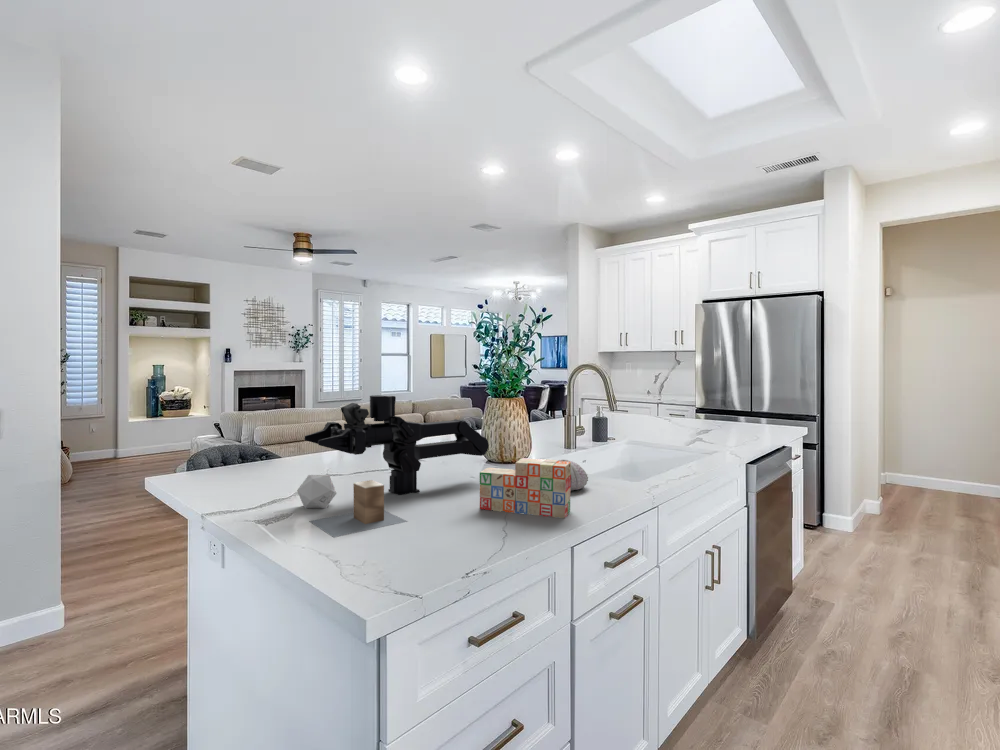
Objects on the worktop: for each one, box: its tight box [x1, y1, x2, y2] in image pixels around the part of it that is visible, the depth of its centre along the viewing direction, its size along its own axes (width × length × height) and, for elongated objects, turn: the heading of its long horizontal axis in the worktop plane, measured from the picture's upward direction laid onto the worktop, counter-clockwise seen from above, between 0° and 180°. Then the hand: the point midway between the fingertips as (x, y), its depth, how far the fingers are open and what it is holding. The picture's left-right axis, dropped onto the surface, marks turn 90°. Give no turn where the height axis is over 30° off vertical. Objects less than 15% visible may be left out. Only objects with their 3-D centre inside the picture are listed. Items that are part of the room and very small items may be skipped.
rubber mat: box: [308, 509, 409, 538], centre depth 118 cm, size 17×14×1 cm
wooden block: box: [353, 479, 385, 524], centre depth 120 cm, size 4×6×8 cm
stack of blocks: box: [479, 457, 571, 519], centre depth 128 cm, size 21×6×12 cm, turn 71°
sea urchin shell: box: [557, 459, 589, 492], centre depth 151 cm, size 13×14×8 cm
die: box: [296, 474, 338, 509], centre depth 130 cm, size 8×9×10 cm
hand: (311, 440), depth 129 cm, fingers open, 9 cm apart
